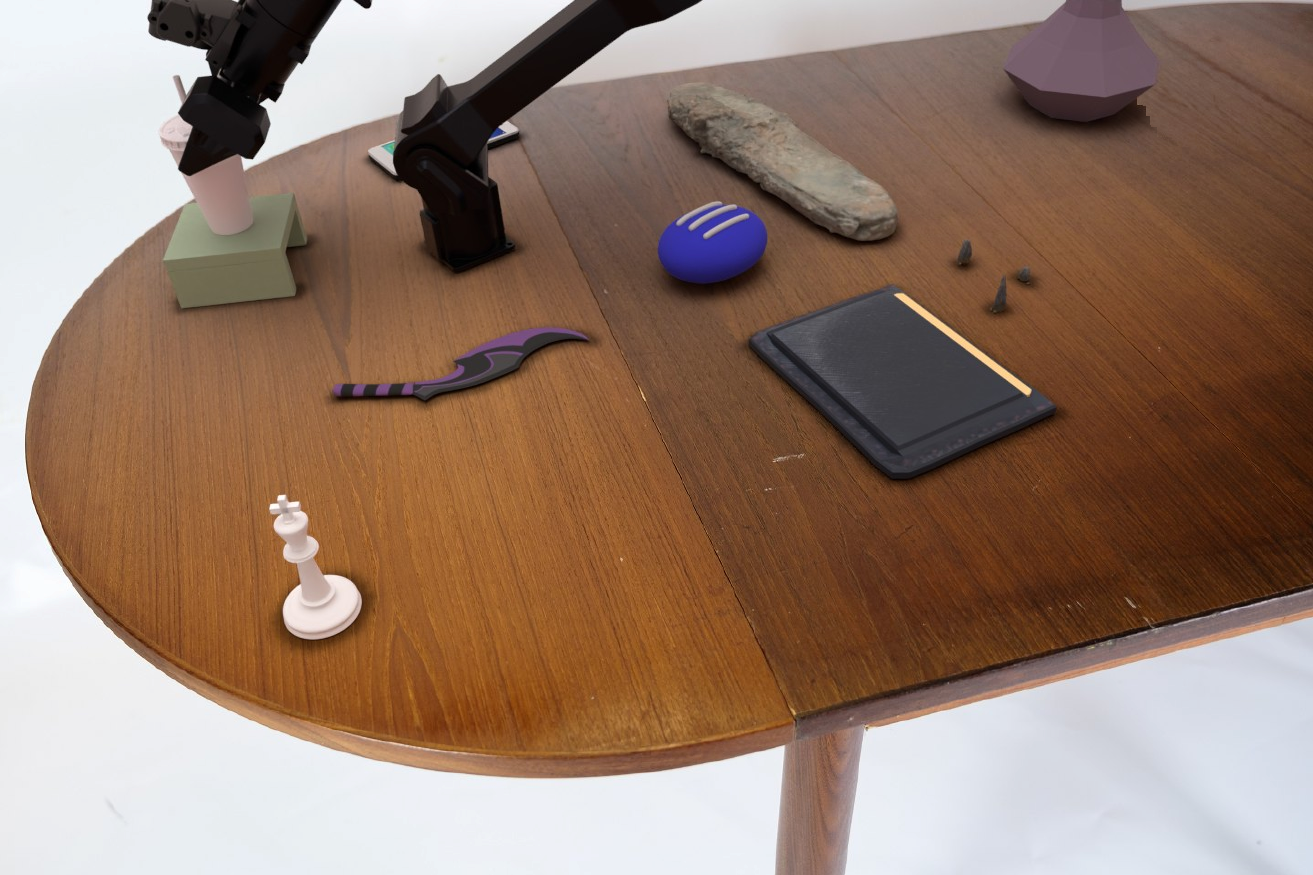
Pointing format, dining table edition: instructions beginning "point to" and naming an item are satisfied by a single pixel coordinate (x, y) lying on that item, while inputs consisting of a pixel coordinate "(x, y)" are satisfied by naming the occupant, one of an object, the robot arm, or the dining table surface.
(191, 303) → the green box
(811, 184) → the long grey stone
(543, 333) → the knife
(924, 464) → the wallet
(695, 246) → the decorative object
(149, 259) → the dining table surface
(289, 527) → the chess piece
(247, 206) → the smoothie
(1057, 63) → the flask
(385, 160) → the smartphone
